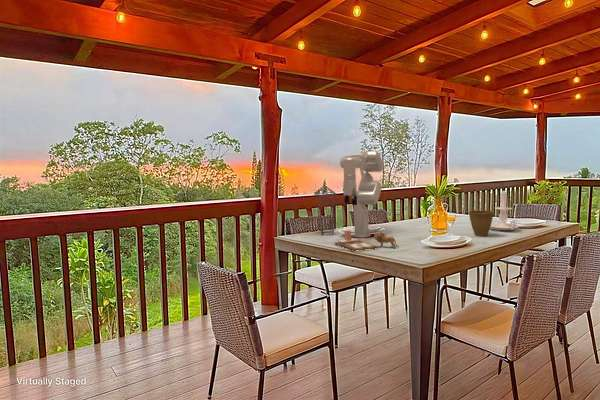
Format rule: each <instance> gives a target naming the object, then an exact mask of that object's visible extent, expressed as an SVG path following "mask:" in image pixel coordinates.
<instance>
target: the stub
mask: <svg viewBox="0 0 600 400" xmlns="http://www.w3.org/2000/svg"><path fill="white" fill-rule="evenodd" d="M358 240H359V239H357V238H352V231H351V230H350V229H349V230H347V229H346V230H344V239H339V240H337V242H341V243H344V242H352V241H358Z"/></svg>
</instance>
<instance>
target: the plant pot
mask: <svg viewBox="0 0 600 400" xmlns="http://www.w3.org/2000/svg"><path fill="white" fill-rule="evenodd" d="M468 215H469V221H470V224H471V228H472V231H473V233H474V235H475V237H488V234H489V232H490V229H491V224H492V223H493V218H494V211H492V210H470V211H468Z"/></svg>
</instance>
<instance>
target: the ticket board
mask: <svg viewBox="0 0 600 400" xmlns="http://www.w3.org/2000/svg"><path fill="white" fill-rule="evenodd" d="M357 240H358V241H352V242H344V243H341V242H338V241H335V242H334V245H335V244H336V245H335V246H337V245H339V246H338V247H340V246H341V247H340V248H342V247H344V248H343V249H345V248H347V249H350V250H353V251H356V250H365V249H374V250H376V249H375V248H378V249H379V247H378V246H377V245H374V244H371V243H368V242H365V241H362V240H360V239H357ZM347 249H346V250H347ZM350 250H349V251H350ZM353 251H352V252H353Z"/></svg>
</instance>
